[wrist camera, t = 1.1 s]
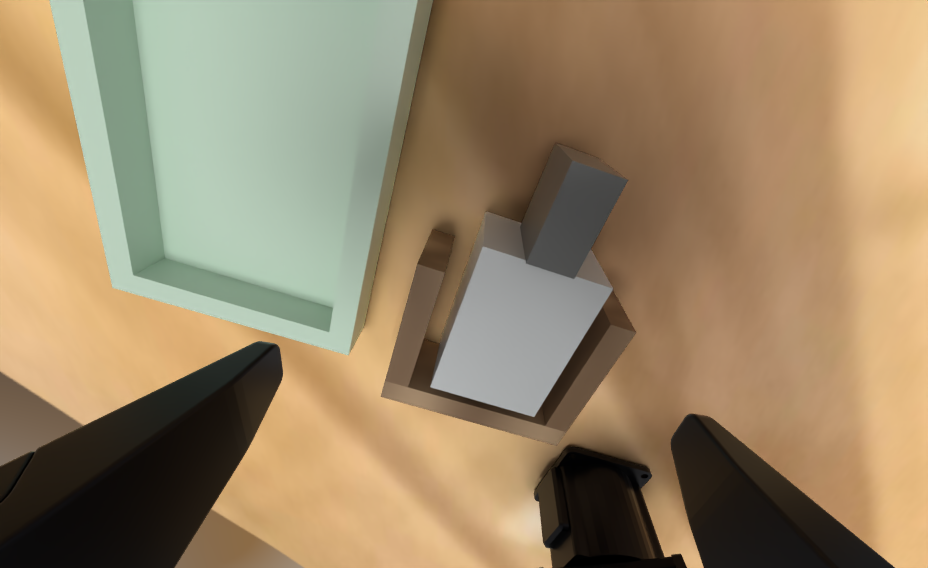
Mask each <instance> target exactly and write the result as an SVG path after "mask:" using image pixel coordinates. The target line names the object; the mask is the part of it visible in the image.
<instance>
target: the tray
mask: <svg viewBox="0 0 928 568" xmlns="http://www.w3.org/2000/svg"><path fill="white" fill-rule="evenodd" d="M432 3H433V0H50V5H51V10H52V14H53V19H54V23H55V28H56V32H57V37H58V41H59V46H60V51H61V55H62V60H63V64H64V69H65V73H66V78H67V82H68V87H69V91H70V96H71V101H72V105H73V110H74V114H75V119H76V123H77V128H78V132H79V137H80V142H81V146H82V151H83V155H84V160H85V164H86V169H87V173H88V178H89V183H90V187H91V192H92V196H93V201H94V205H95V210H96V214H97V219H98V224H99V228H100V233H101V237H102V242H103V246H104V251H105V255H106V260H107V264H108V269H109V274H110V278H111V283H112V287H113V288H115V289H119V290H122V291H126V292H129V293H133V294H136V295H140V296H143V297H147V298H150V299H154V300H157V301H161V302H164V303H168V304H171V305H175V306H178V307H182V308H185V309H189V310H192V311H196V312H199V313H203V314H206V315H210V316H213V317H216V318H220V319H223V320H227V321H230V322H234V323H237V324H241V325H244V326H248V327H251V328H255V329H258V330H262V331H265V332H269V333H272V334H276V335H279V336H283V337H286V338H290V339H293V340H297V341H300V342H304V343H307V344H311V345H314V346H318V347H321V348H325V349H328V350H332V351H335V352H338V353H342V354H345V355H349V354H350V352H351V350H352V348H353V346H354V344H355V343H356V341H357V339H358V337H359V335H360V333H361V331H362V330H363V328H364V324H365V319H366V315H367V310H368V305H369V301H370V296H371V291H372V286H373V282H374V277H375V272H376V268H377V263H378V258H379V253H380V249H381V244H382V239H383V235H384V230H385V225H386V220H387V216H388V211H389V206H390V201H391V197H392V192H393V187H394V183H395V178H396V173H397V168H398V164H399V159H400V154H401V150H402V145H403V140H404V135H405V131H406V126H407V121H408V117H409V112H410V107H411V102H412V98H413V93H414V88H415V84H416V79H417V74H418V69H419V65H420V60H421V55H422V51H423V46H424V41H425V36H426V32H427V27H428V22H429V17H430V13H431V8H432Z"/></svg>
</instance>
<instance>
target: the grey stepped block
mask: <svg viewBox="0 0 928 568" xmlns="http://www.w3.org/2000/svg"><path fill="white" fill-rule="evenodd" d="M627 181H628V180H627V179H626V178H625V177H623V176H622V175H621V174H619V173H618V172H617V171H615V170H614V169H613V168H611V167H610V166H609V165H607V164H606V163H605V162H603V161H602V160H601V159H599V158H597V157H594V156H591V155H589V154H586V153H583V152H580V151H577V150H575V149H572V148H569V147H566V146H563V145H561V144H558V143H555V145H554V147H553V149H552V152H551V154H550V157H549V159H548V161H547V164H546V166H545V168H544V171H543V173H542V176H541V178H540V180H539V183H538V185H537V188H536V190H535V192H534V195H533V197H532V199H531V202H530V204H529V207H528V209H527V211H526V214H525V216H524V218H523V221H522V223H520V222H517V221H514V220H511V219H508V218H505V217H502V216H499V215H496V214H493V213H490V212H487V211H486V212H485V215H484V218H483V220H482V223H481V226H480V229H479V231H478V234H477V237H476V240H475V243H474V245H473V248H472V251H471V254H470V256H469V259H468V262H467V265H466V268H465V270H464V273H463V276H462V279H461V281H460V284H459V287H458V290H457V293H456V295H455V298H454V301H453V304H452V307H451V309H450V312H449V315H448V318H447V320H446V323H445V326H444V329H443V332H442V335H441V340H440V344H439V349H438V354H437V358H436V363H435V368H434V372H433V377H432V382H431V386H430V387H431V388H435V389H438V390H442V391H445V392H449V393H452V394H456V395H459V396H463V397H466V398H470V399H473V400H477V401H480V402H484V403H487V404H491V405H494V406H498V407H501V408H505V409H508V410H511V411H515V412H518V413H522V414H525V415H529V416H532V417H534V416H535V415H536V413H537V412H538V410H539V408H540V407H541V405H542V404H543V402H544V400H545V399H546V397H547V395H548V394H549V392H550V391H551V389H552V387H553V386H554V384H555V383H556V381H557V379H558V378H559V376H560V374H561V373H562V371H563V370H564V368H565V366H566V365H567V363H568V361H569V360H570V358H571V357H572V355H573V353H574V352H575V350H576V349H577V347H578V345H579V344H580V342H581V340H582V339H583V337H584V336H585V334H586V332H587V331H588V329H589V327H590V326H591V324H592V323H593V321H594V319H595V318H596V316H597V315H598V313H599V311H600V310H601V308H602V306H603V305H604V303H605V302H606V300H607V298H608V297H609V295H610V293H611V292H612V290H613V287H612V285H611V284H610V282H609V280H608V278H607V277H606V275H605V273H604V271H603V269H602V268H601V266H600V264H599V262H598V261H597V259H596V257H595V255H594V254H593V252H592V250H591V248H592V246H593V244H594V242H595V240H596V238H597V237H598V235H599V233H600V231H601V229H602V227H603V226H604V224H605V222H606V220H607V218H608V216H609V214H610V213H611V211H612V209H613V207H614V205H615V203H616V202H617V200H618V198H619V196H620V194H621V192H622V191H623V189H624V187H625V185H626V183H627Z"/></svg>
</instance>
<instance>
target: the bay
mask: <svg viewBox="0 0 928 568" xmlns="http://www.w3.org/2000/svg"><path fill="white" fill-rule="evenodd" d="M454 238H455V237H454V236H451V235H448V234H445V233H442V232H439V231H436V230H433V229H432V231H431V234H430V236H429V238H428V241H427V243H426V245H425V248H424V250H423V252H422V255H421V257H420V259H419V261H418V264H417V267H416V271H415V274H414V278H413V282H412V285H411V289H410V293H409V296H408V300H407V303H406V307H405V311H404V314H403V318H402V322H401V325H400V329H399V332H398V336H397V340H396V343H395V347H394V350H393V354H392V358H391V361H390V365H389V369H388V372H387V376H386V379H385V383H384V387H383V390H382V394H381V397H384V398H387V399H391V400H394V401H398V402H402V403H405V404H409V405H412V406H416V407H419V408H423V409H427V410H430V411H434V412H437V413H441V414H444V415H448V416H452V417H455V418H459V419H462V420H466V421H470V422H473V423H477V424H480V425H484V426H487V427H491V428H495V429H498V430H502V431H505V432H509V433H512V434H516V435H520V436H523V437H527V438H530V439H534V440H537V441H541V442H545V443H548V444H552V445H555V446H557V445H558V443H559V442H560V440H561V439H562V438H563V436H564V435H565V433H566V432H567V430H568V429H569V428H570V426H571V425H572V423H573V422H574V420H575V419H576V418H577V416H578V415H579V413H580V412H581V410H582V409H583V408H584V406H585V405H586V403H587V402H588V401H589V399H590V398H591V396H592V395H593V393H594V392H595V391H596V389H597V388H598V386H599V385H600V383H601V382H602V381H603V379H604V378H605V376H606V375H607V374H608V372H609V371H610V369H611V368H612V366H613V365H614V364H615V362H616V361H617V359H618V358H619V356H620V355H621V354H622V352H623V351H624V349H625V348H626V347H627V345H628V344H629V342H630V341H631V339H632V338H633V337H634V335H635V334H636V331H635V329H634V328H633V326H632V324H631V322H630V320H629V319H628V317H627V315H626V313H625V311H624V310H623V308H622V306H621V304H620V302H619V300H618V299H617V297H616V295H615V293H614V291H613V290H612V292H611V293H610V295H609V297H608V298H607V300H606V302H605V303H604V305H603V306H602V308H601V310H600V311H599V313H598V315H597V316H596V318H595V319H594V321H593V323H592V324H591V326H590V327H589V329H588V331H587V332H586V334H585V336H584V337H583V339H582V340H581V342H580V344H579V345H578V347H577V349H576V350H575V352H574V353H573V355H572V357H571V358H570V360H569V361H568V363H567V365H566V366H565V368H564V370H563V371H562V373H561V374H560V376H559V378H558V379H557V381H556V383H555V384H554V386H553V387H552V389H551V391H550V392H549V394H548V395H547V397H546V399H545V400H544V402H543V404H542V405H541V407H540V408H539V410H538V412H537V413H536V415H535V416H534V417H532V416H529V415H525V414H522V413H518V412H515V411H511V410H508V409H505V408H501V407H498V406H494V405H491V404H487V403H484V402H480V401H477V400H473V399H470V398H466V397H463V396H459V395H456V394H452V393H449V392H445V391H442V390H438V389H435V388H431V387H430V386H431V382H432V377H433V372H434V368H435V363H436V358H437V354H438V349H439V344H438V343H435V342H431V341H428V340H425V339H424V336H425V333H426V330H427V327H428V324H429V321H430V318H431V315H432V312H433V309H434V306H435V302H436V299H437V296H438V293H439V290H440V287H441V284H442V281H443V278H444V275H445V271H446V268H447V264H448V260H449V257H450V253H451V249H452V245H453V242H454Z"/></svg>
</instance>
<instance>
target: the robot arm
mask: <svg viewBox="0 0 928 568" xmlns="http://www.w3.org/2000/svg"><path fill="white" fill-rule="evenodd" d="M282 377H283V368H282V361H281V354H280V348H279V346H278V345H277V344H274V343H268V342H262V341H258V342H255V343H253V344H251V345H249V346H247V347H245V348H243V349H240V350H238V351H236V352H234V353H232V354H230V355H228V356H226V357H224V358H222V359H220V360H218V361H216V362H214V363H212V364H210V365H208V366H206V367H203V368H201V369H199V370H197V371H195V372H193V373H191V374H189V375H187V376H185V377H183V378H181V379H179V380H177V381H175V382H173V383H171V384H168V385H166V386H164V387H162V388H160V389H158V390H156V391H154V392H152V393H150V394H148V395H146V396H144V397H142V398H140V399H138V400H136V401H134V402H131V403H129V404H127V405H125V406H123V407H121V408H119V409H117V410H115V411H113V412H111V413H109V414H107V415H105V416H103V417H101V418H99V419H97V420H94V421H92V422H90V423H88V424H86V425H84V426H82V427H80V428H78V429H76V430H74V431H72V432H70V433H68V434H66V435H64V436H62V437H60V438H57V439H55V440H53V441H51V442H49V443H47V444H45V445H43V446H41V447H39V448H38V449H37V450H36V451H35V452H34V451H32V452H28V453H26V454H24V455H22V456H20V457H18V458H16V459H14V460H12V461H10V462H8V463H6V464H4V465H2V466H0V568H175V566H176V564H177V563H178V561H179V560H180V558H181V556H182V555H183V553H184V552H185V550H186V548H187V547H188V545H189V544H190V542H191V540H192V539H193V537H194V535H195V534H196V532H197V531H198V529H199V528H200V526H201V524H202V523H203V521H204V519H205V518H206V516H207V515H208V513H209V511H210V510H211V508H212V507H213V505H214V503H215V502H216V500H217V499H218V497H219V495H220V494H221V492H222V490H223V489H224V487H225V486H226V484H227V482H228V481H229V479H230V478H231V476H232V474H233V473H234V471H235V470H236V468H237V466H238V465H239V463H240V462H241V460H242V458H243V457H244V455H245V453H246V451H247V450H248V448H249V446H250V444H251V442H252V440H253V438H254V436H255V434H256V432H257V430H258V428H259V426H260V424H261V422H262V420H263V418H264V416H265V414H266V412H267V410H268V408H269V406H270V404H271V402H272V400H273V397H274V395H275V393H276V391H277V389H278V387H279V385H280V383H281V380H282ZM671 450H672V454H673V459H674V463H675V467H676V471H677V475H678V480H679V484H680V488H681V492H682V497H683V501H684V505H685V509H686V513H687V517H688V520H689V524H690V527H691V530H692V533H693V536H694V539H695V542H696V545H697V548H698V551H699V554H700V557H701V560H702V563H703V566H704V568H895V567H893V566H892V565H891V564H890V563H889V562H887V561H886V560H885V559H884V558H882V557H881V556H880V555H879V554H878V553H876V552H875V551H874V550H873V549H871V548H870V547H869V546H868V545H867V544H865V543H864V542H863V541H862V540H860V539H859V538H858V537H857V536H856V535H854V534H853V533H852V532H851V531H849V530H848V529H847V528H846V527H845V526H843V525H842V524H841V523H840V522H838V521H837V520H836V519H835V518H834V517H832V516H831V515H830V514H829V513H827V512H826V511H825V510H824V509H823V508H821V507H820V506H819V505H818V504H816V503H815V502H814V501H813V500H812V499H810V498H809V497H808V496H807V495H805V494H804V493H803V492H802V491H801V490H799V489H798V488H797V487H796V486H794V485H793V484H792V483H791V482H790V481H788V480H787V479H786V478H785V477H783V476H782V475H781V474H780V473H779V472H777V471H776V470H775V469H774V468H772V467H771V466H770V465H769V464H768V463H766V462H765V461H764V460H763V459H761V458H760V457H759V456H758V455H757V454H755V453H754V452H753V451H752V450H750V449H749V448H748V447H747V446H746V445H744V444H743V443H742V442H741V441H739V440H738V439H737V438H736V437H735V436H733V435H732V434H731V433H730V432H728V431H727V430H726V429H725V428H724V427H722V426H721V425H720V424H719V423H717V422H716V421H715V420H714V419H712V418H711V417H708V416H704V415H698V414H689V415H687V416H686V417H685V418H684V420H683V421H682V423H681V424H680V426H679V427H678V429H677V430H676V432H675V433H674V435H673V436H672V439H671ZM651 477H652V474H651V472H650V469H649V468H647V467H644V466H641V465H637V464H634V463H630V462H626V461H623V460H619V459H616V458H612V457H609V456H605V455H602V454H598V453H594V452H591V451H587V450H584V449H580V448H577V447H568V448H566V449H565V450H564V452H563V453H562V454H561V456H560V457H559V458H558V460H557V461H556V463H555V464H554V465H553V467H552V468H551V469H550V470H549V471H548V473H547V474H546V476H545V477H544V478H543V480H542V481H541V482H540V484H539V485H538V487H537V489H536V490H535V492H534V498H535V500H536V501H538V502H539V506H540V516H541V526H542V536H543V543H544V545H545V547H546V548H550V551H551V560H552V568H687V567H686V565H685V562H684V560H683V557H682V555H681V554H673V555H671V556H672V557H664V554H663V551H662V549H661V546H660V543H659V540H658V537H657V534H656V532H655V529H654V526H653V523H652V520H651V517H650V515H649V512H648V509H647V506H646V503H645V500H644V497H643V495H642V492H641V488H642V487H643V486H644V485H645V484H646V483H647V482H648V481H649V479H650V478H651ZM541 568H543V567H541Z"/></svg>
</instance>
